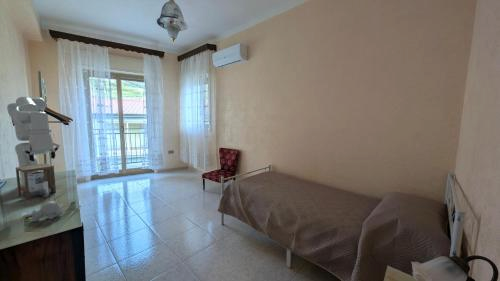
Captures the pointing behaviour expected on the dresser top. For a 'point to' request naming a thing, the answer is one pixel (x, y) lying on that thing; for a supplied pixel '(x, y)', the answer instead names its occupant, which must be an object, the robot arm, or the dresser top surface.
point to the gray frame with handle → (42, 193)
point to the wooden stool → (46, 169)
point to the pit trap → (22, 190)
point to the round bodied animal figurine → (47, 211)
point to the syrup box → (35, 181)
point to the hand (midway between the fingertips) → (43, 159)
